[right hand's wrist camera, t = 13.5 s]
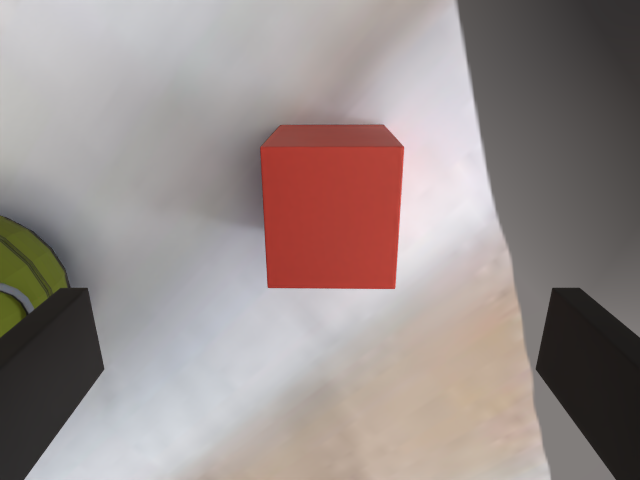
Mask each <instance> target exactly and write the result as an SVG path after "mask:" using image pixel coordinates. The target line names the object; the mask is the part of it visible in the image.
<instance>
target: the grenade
mask: <svg viewBox="0 0 640 480" xmlns="http://www.w3.org/2000/svg"><path fill="white" fill-rule="evenodd" d="M60 288H70V284H69V281H68V277H67V274H66V271H65V268H64V266H63V265H62V263H61V262H60V260H59V259H58V257H57V256H56V254H55V253H54V251H53V250H52V248H51V247H50V246H48V245H47V244H46V243H45V242H44V241H43V240H42V239H41V238H40V237H38V236H37V235H36V234H35V233H34V232H33V231H31V230H29V229H27V228H26V227H24V226H22V225H20V224H18V223H16V222H14V221H13V220H11V219H8V218H6V217H3V216H0V337H2V336H3V335H4V334H5V333H6V332H8V331H9V330H10V329H11V328H13V327H14V326H15V325H16V324H17V323H19V322H20V321H21V320H22V319H23V318H25V317H26V316H27V315H28V314H29V313H31V312H32V311H33V310H34V309H35V308H37V307H38V306H39V305H40V304H42V303H43V302H44V301H45V300H46V299H48V298H49V297H50V296H51V295H52V294H54V293H55V292H56V291H57V290H58V289H60Z"/></svg>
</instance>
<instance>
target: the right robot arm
mask: <svg viewBox="0 0 640 480" xmlns="http://www.w3.org/2000/svg"><path fill="white" fill-rule="evenodd" d="M103 370H104V365H103V360H102V355H101V351H100V346H99V341H98V336H97V331H96V326H95V322H94V317H93V312H92V307H91V302H90V297H89V293H88V288H60V289H58V290H57V291H56V292H55V293H54V294H52V295H51V296H50V297H49V298H48V299H46V300H45V301H44V302H43V303H42V304H40V305H39V306H38V307H37V308H35V309H34V310H33V311H32V312H31V313H29V314H28V315H27V316H26V317H25V318H23V319H22V320H21V321H20V322H19V323H17V324H16V325H15V326H14V327H13V328H11V329H10V330H9V331H8V332H6V333H5V334H4V335H3V336H2V337H0V480H24V479H25V477H26V476H27V475H28V473H29V472H30V471H31V469H32V468H33V466H34V465H35V464H36V462H37V461H38V460H39V458H40V457H41V455H42V454H43V453H44V451H45V450H46V449H47V447H48V446H49V444H50V443H51V442H52V440H53V439H54V438H55V436H56V435H57V433H58V432H59V431H60V429H61V428H62V427H63V425H64V424H65V423H66V421H67V420H68V418H69V417H70V416H71V414H72V413H73V412H74V410H75V409H76V407H77V406H78V405H79V403H80V402H81V401H82V399H83V398H84V396H85V395H86V394H87V392H88V391H89V390H90V388H91V387H92V385H93V384H94V383H95V381H96V380H97V379H98V377H99V376H100V374H101V373H102V372H103ZM536 370H537V372H538V373H539V374H540V376H541V377H542V378H543V380H544V381H545V383H546V384H547V385H548V387H549V388H550V390H551V391H552V392H553V394H554V395H555V396H556V398H557V399H558V400H559V402H560V403H561V405H562V406H563V407H564V409H565V410H566V411H567V413H568V414H569V416H570V417H571V418H572V420H573V421H574V422H575V424H576V425H577V427H578V428H579V429H580V431H581V432H582V433H583V435H584V436H585V438H586V439H587V440H588V442H589V443H590V444H591V446H592V447H593V449H594V450H595V451H596V453H597V454H598V455H599V457H600V458H601V460H602V461H603V462H604V464H605V465H606V466H607V468H608V469H609V471H610V472H611V473H612V475H613V476H614V477H615V479H616V480H640V338H639V337H638V336H637V335H636V334H635V333H633V332H632V331H631V330H630V329H629V328H627V327H626V326H625V325H624V324H623V323H621V322H620V321H619V320H618V319H617V318H615V317H614V316H613V315H612V314H611V313H609V312H608V311H607V310H606V309H605V308H603V307H602V306H601V305H600V304H598V303H597V302H596V301H595V300H594V299H592V298H591V297H590V296H589V295H588V294H586V293H585V292H584V291H583V290H582V289H580V288H552V292H551V297H550V302H549V307H548V312H547V317H546V322H545V326H544V331H543V336H542V341H541V346H540V351H539V356H538V361H537V365H536Z"/></svg>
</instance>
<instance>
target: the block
mask: <svg viewBox="0 0 640 480" xmlns="http://www.w3.org/2000/svg"><path fill="white" fill-rule="evenodd" d="M260 153H261V172H262V190H263V209H264V228H265V247H266V265H267V284H268V288H341V289H395V284H396V268H397V253H398V237H399V221H400V205H401V189H402V173H403V158H404V146H403V145H402V144H401V143H400V142H399V141H398V140H397V139H396V138H395V137H394V135H393V134H392V133H391V132H390V131H389V130H388V129H387V128H386V127H385V126H384V125H280V126H279V127H278V128H277V129H276V130H275V132H274V133H273V134H272V135H271V136H270V137H269V138H268V139H267V140H266V141H265V143H264V144H263V145H262V146H261V147H260Z"/></svg>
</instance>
